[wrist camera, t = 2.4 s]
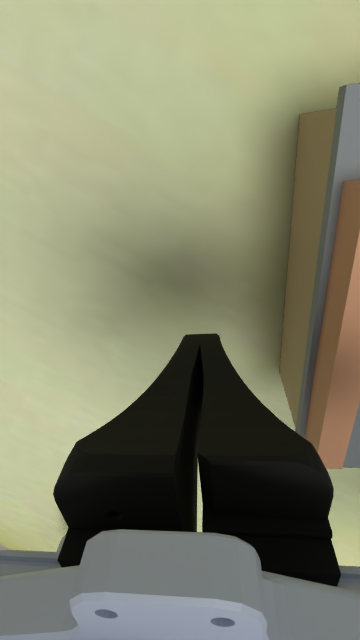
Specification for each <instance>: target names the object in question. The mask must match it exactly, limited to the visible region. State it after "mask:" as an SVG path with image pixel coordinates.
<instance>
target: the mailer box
mask: <svg viewBox="0 0 360 640" xmlns="http://www.w3.org/2000/svg"><path fill="white" fill-rule="evenodd" d="M336 109H337V108H336ZM336 109H330V110H324V111H318V112H311V113H305V114H300V118H299V130H298V143H297V155H296V168H295V181H294V193H293V206H292V218H291V231H290V244H289V256H288V269H287V281H286V294H285V307H284V319H283V332H282V344H281V357H280V370H279V372H280V376H281V379H282V383H283V386H284V390H285V393H286V397H287V400H288V404H289V407H290V411H291V414H292V418H293V421H294V425H295V428H296V422H297V414H298V406H299V399H300V391H301V383H302V375H303V367H304V359H305V352H306V344H307V336H308V328H309V320H310V312H311V304H312V297H313V289H314V281H315V273H316V265H317V257H318V250H319V242H320V234H321V226H322V218H323V210H324V203H325V195H326V187H327V179H328V171H329V163H330V156H331V148H332V140H333V132H334V124H335V116H336Z"/></svg>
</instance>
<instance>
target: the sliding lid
mask: <svg viewBox="0 0 360 640" xmlns="http://www.w3.org/2000/svg"><path fill="white" fill-rule="evenodd" d="M295 432H296V433H298V434H299V435H301V436H302V437H303V438H305V439H306V440H308V441H309V442H311V443H312V444H313V446H314V448H315V449H316V451H317V453H318V454H319V456H320V458H321V460H322V462H323V464H324V466H325V468H326V469H342V468H343V467H351V468H360V83H359V84H350V85H345V86H342V87H339V93H338V101H337V109H336V116H335V124H334V132H333V140H332V148H331V156H330V163H329V171H328V179H327V187H326V195H325V203H324V210H323V218H322V226H321V234H320V242H319V250H318V257H317V265H316V273H315V281H314V289H313V297H312V304H311V312H310V320H309V328H308V336H307V344H306V352H305V359H304V367H303V375H302V383H301V391H300V399H299V406H298V414H297V422H296V430H295Z"/></svg>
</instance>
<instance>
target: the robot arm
mask: <svg viewBox="0 0 360 640" xmlns="http://www.w3.org/2000/svg"><path fill="white" fill-rule="evenodd" d="M198 463H199V473H200V482H201V492H202V501H203V521H202V531H203V532H197V466H198ZM53 495H54V498H55V502H56V504H57V506H58V508H59V510H60V512H61V513H62V515H63V517H64V519H65V521H66V523H67V525H68V527H69V528H68V531H67V534H66V537H65V539H64V542H63V545H62V548H61V551H60V552H44V551H23V550H2V549H0V640H360V567H356V566H339V565H338V562H337V558H336V555H335V552H334V548H333V545H332V541H331V539H332V530H331V527H330V523H329V520H328V515H329V511H330V507H331V503H332V499H333V485H332V482H331V479H330V477H329V474H328V472H327V470H326V468H325V466H324V464H323V462H322V460H321V458H320V456H319V454H318V453H317V451H316V449H315V448H314V446H313V444H312V443H311V442H309V441H308V440H306V439H305V438H303V437H302V436H301V435H299V434H298V433H296V432H295V431H293V430H292V429H290V428H289V427H288V426H287V425H285V424H284V423H283V422H282V421H281V420H279V419H278V418H277V417H276V416H275V415H274V414H273V413H272V412H271V411H270V410H269V409H267V408H266V407H265V406H264V405H263V404H262V403H261V402H260V401H259V400H258V399H257V397H256V396H255V395H254V394H253V393H252V392H251V391H250V389H249V388H248V387H247V386H246V384H245V383H244V382H243V381H242V379H241V378H240V376H239V375H238V373H237V372H236V370H235V369H234V367H233V366H232V364H231V362H230V360H229V359H228V357H227V355H226V353H225V351H224V349H223V347H222V344H221V341H220V337H219V335H218V334H192V335H185V336H184V337H183V339H182V341H181V343H180V345H179V347H178V349H177V350H176V352H175V354H174V355H173V357H172V358H171V360H170V361H169V363H168V364H167V366H166V367H165V368H164V370H163V371H162V372H161V373H160V375H159V376H158V377H157V379H156V380H155V381H154V382H153V383H152V384H151V386H150V387H149V388H148V389H147V390H146V391H145V392H144V393H143V394H142V395H141V396H140V397H139V398H138V399H137V400H136V401H135V402H133V403H132V404H131V405H130V406H129V407H128V408H127V409H126V410H124V411H123V412H122V413H120V414H119V415H118V416H116V417H115V418H114V419H112V420H111V421H110V422H108V423H107V424H105V425H104V426H102V427H101V428H99V429H97V430H96V431H94V432H92V433H91V434H89V435H88V436H86V437H84V438H83V439H81V440H79V441H77V442H76V444H75V446H74V448H73V449H72V451H71V453H70V454H69V456H68V458H67V460H66V462H65V464H64V467H63V469H62V471H61V473H60V476H59V478H58V480H57V483H56V485H55V487H54V493H53Z"/></svg>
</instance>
